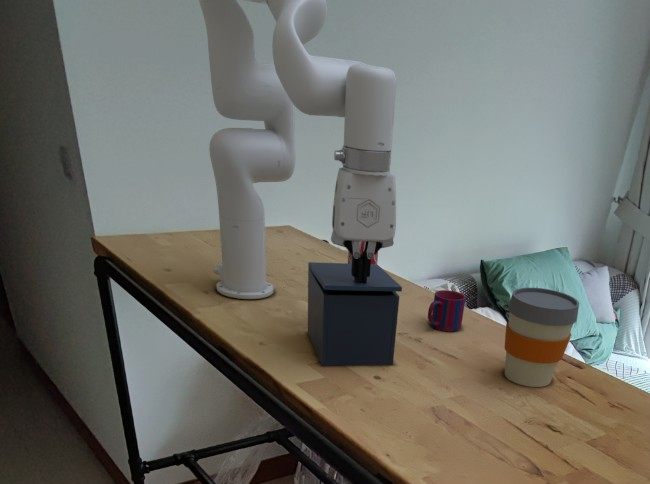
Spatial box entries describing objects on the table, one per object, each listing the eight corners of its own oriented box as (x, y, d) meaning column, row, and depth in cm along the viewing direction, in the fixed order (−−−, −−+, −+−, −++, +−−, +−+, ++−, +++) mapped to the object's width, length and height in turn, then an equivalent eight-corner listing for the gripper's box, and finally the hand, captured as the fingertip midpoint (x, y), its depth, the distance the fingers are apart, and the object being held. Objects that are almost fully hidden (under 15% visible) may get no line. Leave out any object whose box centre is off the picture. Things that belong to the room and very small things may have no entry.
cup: (467, 328, 142) (472, 297, 138) (435, 336, 137) (439, 304, 133) (445, 319, 146) (450, 288, 142) (413, 326, 140) (417, 294, 136)
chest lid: (401, 291, 113) (402, 286, 113) (325, 290, 109) (325, 285, 109) (377, 268, 127) (377, 264, 126) (308, 266, 123) (308, 262, 122)
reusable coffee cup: (483, 366, 126) (498, 287, 117) (537, 362, 131) (555, 286, 122) (516, 393, 118) (535, 311, 108) (572, 388, 122) (595, 308, 113)
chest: (393, 364, 122) (399, 296, 114) (321, 365, 118) (323, 294, 111) (372, 332, 134) (377, 268, 127) (307, 332, 131) (308, 266, 123)
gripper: (324, 161, 97) (321, 286, 108) (418, 168, 101) (406, 288, 113) (316, 154, 103) (314, 273, 114) (405, 161, 107) (395, 275, 118)
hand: (360, 280), depth 113 cm, fingers closed
